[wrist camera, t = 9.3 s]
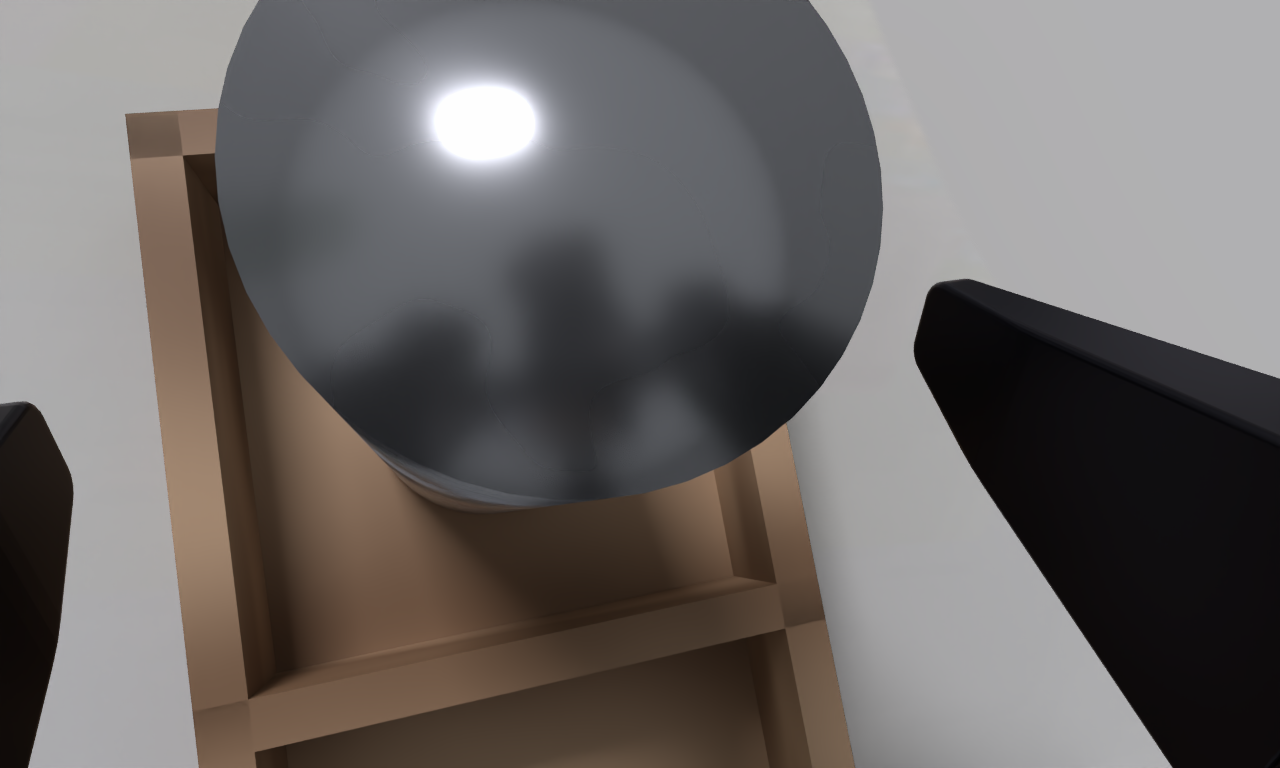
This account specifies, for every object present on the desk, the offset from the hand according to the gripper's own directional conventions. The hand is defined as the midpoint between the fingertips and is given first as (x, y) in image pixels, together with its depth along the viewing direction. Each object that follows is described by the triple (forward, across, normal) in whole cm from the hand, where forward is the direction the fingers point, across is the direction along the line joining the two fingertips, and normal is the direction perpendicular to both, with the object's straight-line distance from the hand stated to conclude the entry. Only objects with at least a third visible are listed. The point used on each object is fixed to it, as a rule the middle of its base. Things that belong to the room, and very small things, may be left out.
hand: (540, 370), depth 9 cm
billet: (+7, 0, +6) cm, 9 cm away
